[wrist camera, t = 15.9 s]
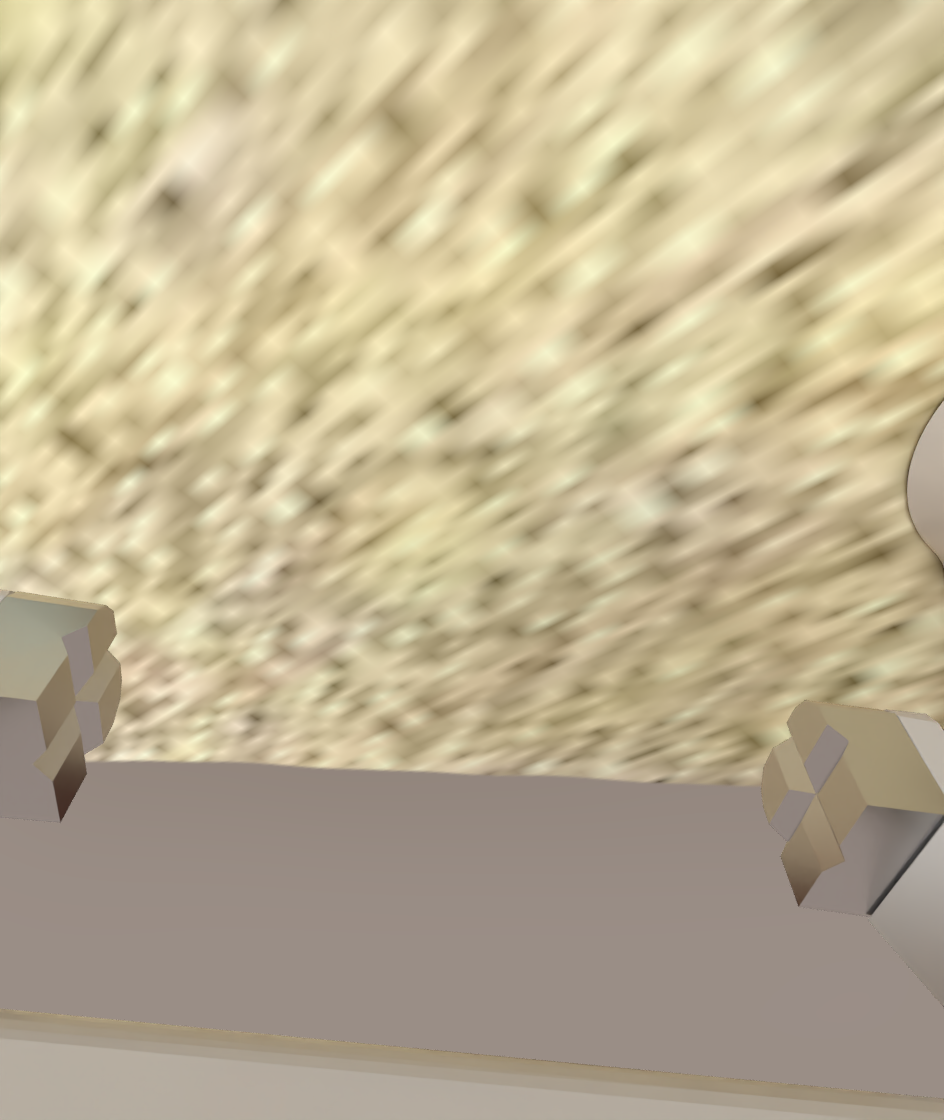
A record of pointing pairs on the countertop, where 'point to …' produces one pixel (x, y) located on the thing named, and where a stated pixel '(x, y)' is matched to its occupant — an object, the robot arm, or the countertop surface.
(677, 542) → the countertop surface
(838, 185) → the countertop surface
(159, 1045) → the robot arm
